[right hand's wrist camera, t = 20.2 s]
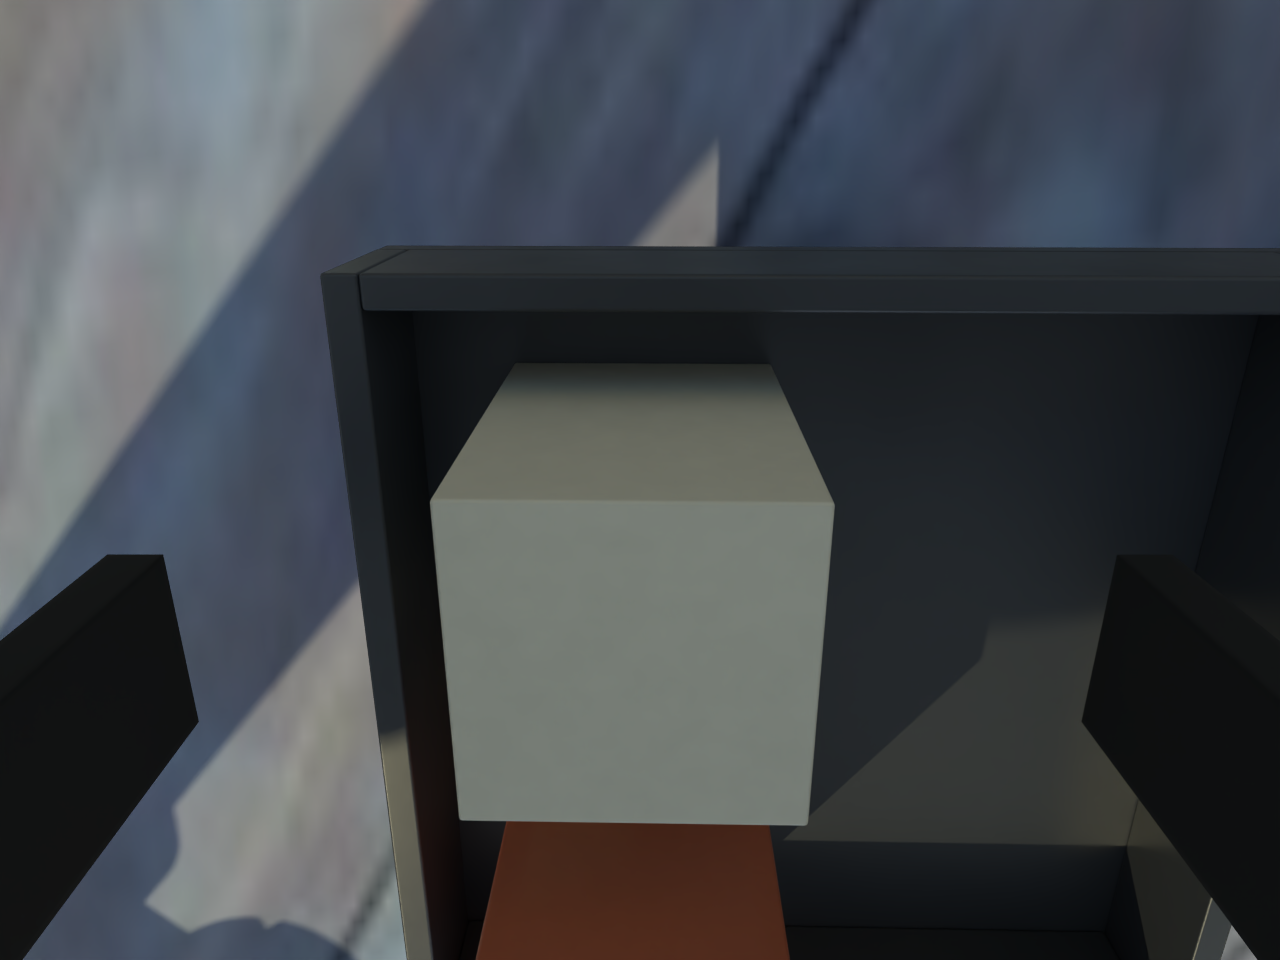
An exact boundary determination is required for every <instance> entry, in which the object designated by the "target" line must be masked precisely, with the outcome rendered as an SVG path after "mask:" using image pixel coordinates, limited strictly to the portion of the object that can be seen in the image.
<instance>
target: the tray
mask: <svg viewBox="0 0 1280 960" xmlns="http://www.w3.org/2000/svg"><path fill="white" fill-rule="evenodd" d="M320 277H321V285H322V293H323V301H324V309H325V317H326V325H327V333H328V341H329V348H330V356H331V364H332V372H333V380H334V388H335V396H336V404H337V412H338V420H339V427H340V435H341V443H342V451H343V459H344V467H345V475H346V483H347V491H348V498H349V506H350V514H351V522H352V530H353V538H354V546H355V554H356V562H357V570H358V577H359V585H360V593H361V601H362V609H363V617H364V625H365V633H366V641H367V648H368V656H369V664H370V672H371V680H372V688H373V696H374V704H375V712H376V720H377V727H378V735H379V743H380V751H381V759H382V767H383V775H384V783H385V791H386V798H387V806H388V814H389V822H390V830H391V838H392V846H393V854H394V862H395V870H396V877H397V885H398V893H399V901H400V909H401V917H402V925H403V933H404V941H405V948H406V956H407V960H476V956H477V951H478V947H479V942H480V938H481V933H482V929H483V924H484V920H485V915H486V911H487V906H488V902H489V897H490V893H491V888H492V884H493V879H494V875H495V871H496V866H497V862H498V857H499V853H500V848H501V844H502V839H503V835H504V830H505V826H506V821H471V820H460V818H459V811H458V800H457V789H456V778H455V768H454V757H453V746H452V735H451V724H450V714H449V703H448V692H447V681H446V670H445V660H444V649H443V638H442V627H441V617H440V606H439V595H438V584H437V573H436V563H435V552H434V541H433V530H432V519H431V509H430V501H431V498H432V497H433V495H434V494H435V492H436V490H437V489H438V487H439V486H440V484H441V482H442V481H443V479H444V477H445V476H446V474H447V473H448V471H449V469H450V468H451V466H452V465H453V463H454V461H455V460H456V458H457V456H458V455H459V453H460V452H461V450H462V448H463V447H464V445H465V444H466V442H467V440H468V439H469V437H470V435H471V434H472V432H473V431H474V429H475V427H476V426H477V424H478V423H479V421H480V419H481V418H482V416H483V414H484V413H485V411H486V410H487V408H488V406H489V405H490V403H491V402H492V400H493V398H494V397H495V395H496V393H497V392H498V390H499V389H500V387H501V385H502V384H503V382H504V381H505V379H506V377H507V376H508V374H509V372H510V371H511V369H512V368H513V366H514V364H515V363H650V364H770V365H771V367H772V369H773V371H774V373H775V375H776V378H777V380H778V382H779V384H780V386H781V389H782V391H783V393H784V395H785V397H786V399H787V402H788V404H789V406H790V408H791V410H792V413H793V415H794V417H795V419H796V421H797V423H798V426H799V428H800V430H801V432H802V434H803V437H804V439H805V441H806V443H807V445H808V447H809V450H810V452H811V454H812V456H813V458H814V461H815V463H816V465H817V467H818V469H819V471H820V474H821V476H822V478H823V480H824V482H825V485H826V487H827V489H828V491H829V493H830V495H831V498H832V500H833V502H834V505H835V509H834V521H833V533H832V545H831V556H830V568H829V580H828V592H827V604H826V616H825V628H824V640H823V652H822V664H821V675H820V687H819V699H818V711H817V723H816V735H815V747H814V759H813V771H812V783H811V794H810V806H809V818H808V824H807V825H805V826H801V825H769V827H770V834H771V840H772V847H773V853H774V860H775V866H776V873H777V879H778V885H779V892H780V898H781V905H782V911H783V918H784V924H785V931H786V937H787V944H788V950H789V957H790V960H1221V956H1222V953H1223V950H1224V947H1225V944H1226V941H1227V937H1228V934H1229V931H1230V928H1231V923H1230V922H1229V920H1228V919H1227V918H1226V916H1225V915H1224V914H1223V912H1222V911H1221V910H1220V908H1219V907H1218V906H1217V904H1216V903H1215V902H1214V900H1213V899H1212V898H1211V896H1210V895H1209V893H1208V892H1207V891H1206V889H1205V888H1204V887H1203V885H1202V884H1201V883H1200V881H1199V880H1198V879H1197V877H1196V876H1195V875H1194V873H1193V872H1192V871H1191V869H1190V868H1189V866H1188V865H1187V864H1186V862H1185V861H1184V860H1183V858H1182V857H1181V856H1180V854H1179V853H1178V852H1177V850H1176V849H1175V848H1174V846H1173V845H1172V844H1171V842H1170V841H1169V839H1168V838H1167V837H1166V835H1165V834H1164V833H1163V831H1162V830H1161V829H1160V827H1159V826H1158V825H1157V823H1156V822H1155V821H1154V819H1153V818H1152V816H1151V815H1150V814H1149V812H1148V811H1147V810H1146V808H1145V807H1144V806H1143V804H1142V803H1141V802H1140V800H1139V799H1138V798H1137V796H1136V795H1135V794H1134V792H1133V791H1132V789H1131V788H1130V787H1129V785H1128V784H1127V783H1126V781H1125V780H1124V779H1123V777H1122V776H1121V775H1120V773H1119V772H1118V771H1117V769H1116V768H1115V767H1114V765H1113V764H1112V762H1111V761H1110V760H1109V758H1108V757H1107V756H1106V754H1105V753H1104V752H1103V750H1102V749H1101V748H1100V746H1099V745H1098V744H1097V742H1096V741H1095V740H1094V738H1093V737H1092V735H1091V734H1090V733H1089V731H1088V730H1087V729H1086V727H1085V726H1084V725H1083V723H1082V722H1081V721H1082V716H1083V711H1084V707H1085V702H1086V697H1087V693H1088V688H1089V683H1090V679H1091V674H1092V669H1093V665H1094V660H1095V655H1096V650H1097V646H1098V641H1099V636H1100V632H1101V627H1102V622H1103V618H1104V613H1105V608H1106V604H1107V599H1108V594H1109V590H1110V585H1111V580H1112V576H1113V571H1114V566H1115V562H1116V557H1117V555H1174V556H1175V557H1176V558H1177V559H1179V560H1180V561H1181V562H1182V563H1184V564H1185V565H1186V566H1187V567H1189V568H1190V569H1191V570H1192V571H1194V572H1195V573H1196V574H1197V575H1199V576H1200V577H1201V578H1202V579H1204V580H1205V581H1206V582H1207V583H1208V584H1210V585H1211V586H1212V587H1213V588H1215V589H1216V590H1217V591H1218V592H1220V593H1221V594H1222V595H1223V596H1225V597H1226V598H1227V599H1228V600H1230V601H1231V602H1232V603H1233V604H1235V605H1236V606H1237V607H1238V608H1240V609H1241V610H1242V611H1243V612H1244V613H1246V614H1247V615H1248V616H1249V617H1251V618H1252V619H1253V620H1254V621H1256V622H1257V623H1258V624H1259V625H1261V626H1262V627H1263V628H1264V629H1266V630H1267V631H1268V632H1269V633H1271V634H1272V635H1273V636H1274V637H1276V638H1277V639H1278V640H1279V641H1280V248H998V247H660V246H385V247H383V248H381V249H378V250H375V251H373V252H370V253H368V254H366V255H363V256H361V257H359V258H356V259H354V260H352V261H350V262H347V263H345V264H343V265H340V266H338V267H336V268H333V269H331V270H329V271H326V272H324V273H322V274H321V276H320Z"/></svg>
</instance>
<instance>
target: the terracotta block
mask: <svg viewBox="0 0 1280 960" xmlns="http://www.w3.org/2000/svg"><path fill="white" fill-rule="evenodd" d="M476 960H790V957H789V950H788V944H787V937H786V931H785V924H784V918H783V911H782V905H781V898H780V892H779V885H778V879H777V873H776V866H775V860H774V853H773V847H772V840H771V834H770V827H769V825H735V824H669V823H603V822H537V821H506V826H505V830H504V835H503V839H502V844H501V848H500V853H499V857H498V862H497V866H496V871H495V875H494V879H493V884H492V888H491V893H490V897H489V902H488V906H487V911H486V915H485V920H484V924H483V929H482V933H481V938H480V942H479V947H478V951H477V956H476Z"/></svg>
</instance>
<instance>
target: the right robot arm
mask: <svg viewBox="0 0 1280 960" xmlns="http://www.w3.org/2000/svg"><path fill="white" fill-rule="evenodd" d="M198 722H199V721H198V716H197V711H196V707H195V702H194V697H193V693H192V688H191V683H190V679H189V674H188V669H187V665H186V660H185V655H184V650H183V646H182V641H181V636H180V632H179V627H178V622H177V618H176V613H175V608H174V604H173V599H172V594H171V590H170V585H169V580H168V576H167V571H166V566H165V562H164V557H163V555H106V556H105V557H104V558H103V559H101V560H100V561H99V562H98V563H96V564H95V565H94V566H93V567H91V568H90V569H89V570H88V571H86V572H85V573H84V574H83V575H81V576H80V577H79V578H78V579H76V580H75V581H74V582H73V583H72V584H70V585H69V586H68V587H67V588H65V589H64V590H63V591H62V592H60V593H59V594H58V595H57V596H55V597H54V598H53V599H52V600H50V601H49V602H48V603H47V604H45V605H44V606H43V607H42V608H40V609H39V610H38V611H37V612H36V613H34V614H33V615H32V616H31V617H29V618H28V619H27V620H26V621H24V622H23V623H22V624H21V625H19V626H18V627H17V628H16V629H14V630H13V631H12V632H11V633H9V634H8V635H7V636H6V637H4V638H3V639H2V640H1V641H0V960H23V958H24V957H25V956H26V954H27V953H28V952H29V950H30V949H31V947H32V946H33V945H34V943H35V942H36V941H37V939H38V938H39V937H40V935H41V934H42V933H43V931H44V930H45V929H46V927H47V926H48V925H49V923H50V922H51V920H52V919H53V918H54V916H55V915H56V914H57V912H58V911H59V910H60V908H61V907H62V906H63V904H64V903H65V902H66V900H67V899H68V898H69V896H70V895H71V893H72V892H73V891H74V889H75V888H76V887H77V885H78V884H79V883H80V881H81V880H82V879H83V877H84V876H85V875H86V873H87V872H88V871H89V869H90V868H91V866H92V865H93V864H94V862H95V861H96V860H97V858H98V857H99V856H100V854H101V853H102V852H103V850H104V849H105V848H106V846H107V845H108V844H109V842H110V841H111V839H112V838H113V837H114V835H115V834H116V833H117V831H118V830H119V829H120V827H121V826H122V825H123V823H124V822H125V821H126V819H127V818H128V816H129V815H130V814H131V812H132V811H133V810H134V808H135V807H136V806H137V804H138V803H139V802H140V800H141V799H142V798H143V796H144V795H145V794H146V792H147V791H148V789H149V788H150V787H151V785H152V784H153V783H154V781H155V780H156V779H157V777H158V776H159V775H160V773H161V772H162V771H163V769H164V768H165V767H166V765H167V764H168V762H169V761H170V760H171V758H172V757H173V756H174V754H175V753H176V752H177V750H178V749H179V748H180V746H181V745H182V744H183V742H184V741H185V740H186V738H187V737H188V735H189V734H190V733H191V731H192V730H193V729H194V727H195V726H196V725H197V723H198ZM1081 722H1082V723H1083V725H1084V726H1085V727H1086V729H1087V730H1088V731H1089V733H1090V734H1091V735H1092V737H1093V738H1094V740H1095V741H1096V742H1097V744H1098V745H1099V746H1100V748H1101V749H1102V750H1103V752H1104V753H1105V754H1106V756H1107V757H1108V758H1109V760H1110V761H1111V762H1112V764H1113V765H1114V767H1115V768H1116V769H1117V771H1118V772H1119V773H1120V775H1121V776H1122V777H1123V779H1124V780H1125V781H1126V783H1127V784H1128V785H1129V787H1130V788H1131V789H1132V791H1133V792H1134V794H1135V795H1136V796H1137V798H1138V799H1139V800H1140V802H1141V803H1142V804H1143V806H1144V807H1145V808H1146V810H1147V811H1148V812H1149V814H1150V815H1151V816H1152V818H1153V819H1154V821H1155V822H1156V823H1157V825H1158V826H1159V827H1160V829H1161V830H1162V831H1163V833H1164V834H1165V835H1166V837H1167V838H1168V839H1169V841H1170V842H1171V844H1172V845H1173V846H1174V848H1175V849H1176V850H1177V852H1178V853H1179V854H1180V856H1181V857H1182V858H1183V860H1184V861H1185V862H1186V864H1187V865H1188V866H1189V868H1190V869H1191V871H1192V872H1193V873H1194V875H1195V876H1196V877H1197V879H1198V880H1199V881H1200V883H1201V884H1202V885H1203V887H1204V888H1205V889H1206V891H1207V892H1208V893H1209V895H1210V896H1211V898H1212V899H1213V900H1214V902H1215V903H1216V904H1217V906H1218V907H1219V908H1220V910H1221V911H1222V912H1223V914H1224V915H1225V916H1226V918H1227V919H1228V920H1229V922H1230V923H1231V925H1232V926H1233V927H1234V929H1235V930H1236V931H1237V933H1238V934H1239V935H1240V937H1241V938H1242V939H1243V941H1244V942H1245V943H1246V945H1247V946H1248V947H1249V949H1250V950H1251V952H1252V953H1253V954H1254V956H1255V957H1256V958H1257V960H1280V641H1279V640H1278V639H1277V638H1276V637H1274V636H1273V635H1272V634H1271V633H1269V632H1268V631H1267V630H1266V629H1264V628H1263V627H1262V626H1261V625H1259V624H1258V623H1257V622H1256V621H1254V620H1253V619H1252V618H1251V617H1249V616H1248V615H1247V614H1246V613H1244V612H1243V611H1242V610H1241V609H1240V608H1238V607H1237V606H1236V605H1235V604H1233V603H1232V602H1231V601H1230V600H1228V599H1227V598H1226V597H1225V596H1223V595H1222V594H1221V593H1220V592H1218V591H1217V590H1216V589H1215V588H1213V587H1212V586H1211V585H1210V584H1208V583H1207V582H1206V581H1205V580H1204V579H1202V578H1201V577H1200V576H1199V575H1197V574H1196V573H1195V572H1194V571H1192V570H1191V569H1190V568H1189V567H1187V566H1186V565H1185V564H1184V563H1182V562H1181V561H1180V560H1179V559H1177V558H1176V557H1175V556H1174V555H1117V557H1116V562H1115V566H1114V571H1113V576H1112V580H1111V585H1110V590H1109V594H1108V599H1107V604H1106V608H1105V613H1104V618H1103V622H1102V627H1101V632H1100V636H1099V641H1098V646H1097V650H1096V655H1095V660H1094V665H1093V669H1092V674H1091V679H1090V683H1089V688H1088V693H1087V697H1086V702H1085V707H1084V711H1083V716H1082V721H1081Z"/></svg>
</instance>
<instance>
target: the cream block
mask: <svg viewBox="0 0 1280 960" xmlns="http://www.w3.org/2000/svg"><path fill="white" fill-rule="evenodd" d="M430 509H431V519H432V530H433V541H434V552H435V563H436V573H437V584H438V595H439V606H440V617H441V627H442V638H443V649H444V660H445V670H446V681H447V692H448V703H449V714H450V724H451V735H452V746H453V757H454V768H455V778H456V789H457V800H458V811H459V818H460V820H471V821H537V822H603V823H669V824H735V825H801V826H805V825H807V824H808V818H809V806H810V794H811V783H812V771H813V759H814V747H815V735H816V723H817V711H818V699H819V687H820V675H821V664H822V652H823V640H824V628H825V616H826V604H827V592H828V580H829V568H830V556H831V545H832V533H833V521H834V509H835V505H834V502H833V500H832V498H831V495H830V493H829V491H828V489H827V487H826V485H825V482H824V480H823V478H822V476H821V474H820V471H819V469H818V467H817V465H816V463H815V461H814V458H813V456H812V454H811V452H810V450H809V447H808V445H807V443H806V441H805V439H804V437H803V434H802V432H801V430H800V428H799V426H798V423H797V421H796V419H795V417H794V415H793V413H792V410H791V408H790V406H789V404H788V402H787V399H786V397H785V395H784V393H783V391H782V389H781V386H780V384H779V382H778V380H777V378H776V375H775V373H774V371H773V369H772V367H771V365H770V364H650V363H515V364H514V366H513V368H512V369H511V371H510V372H509V374H508V376H507V377H506V379H505V381H504V382H503V384H502V385H501V387H500V389H499V390H498V392H497V393H496V395H495V397H494V398H493V400H492V402H491V403H490V405H489V406H488V408H487V410H486V411H485V413H484V414H483V416H482V418H481V419H480V421H479V423H478V424H477V426H476V427H475V429H474V431H473V432H472V434H471V435H470V437H469V439H468V440H467V442H466V444H465V445H464V447H463V448H462V450H461V452H460V453H459V455H458V456H457V458H456V460H455V461H454V463H453V465H452V466H451V468H450V469H449V471H448V473H447V474H446V476H445V477H444V479H443V481H442V482H441V484H440V486H439V487H438V489H437V490H436V492H435V494H434V495H433V497H432V498H431V501H430Z"/></svg>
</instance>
